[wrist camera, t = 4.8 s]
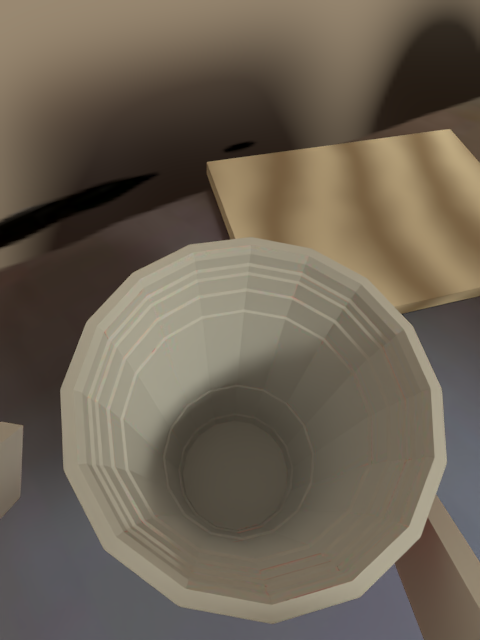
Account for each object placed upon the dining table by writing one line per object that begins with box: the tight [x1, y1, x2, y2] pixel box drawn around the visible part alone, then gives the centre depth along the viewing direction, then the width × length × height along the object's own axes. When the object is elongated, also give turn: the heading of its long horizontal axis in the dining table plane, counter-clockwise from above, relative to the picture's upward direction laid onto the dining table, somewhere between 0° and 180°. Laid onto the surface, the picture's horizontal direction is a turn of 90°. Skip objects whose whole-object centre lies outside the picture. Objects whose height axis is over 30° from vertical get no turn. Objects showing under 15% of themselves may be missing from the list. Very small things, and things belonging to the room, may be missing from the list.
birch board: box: [207, 129, 480, 314], centre depth 32 cm, size 22×16×1 cm
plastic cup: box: [60, 237, 447, 624], centre depth 17 cm, size 11×11×12 cm
